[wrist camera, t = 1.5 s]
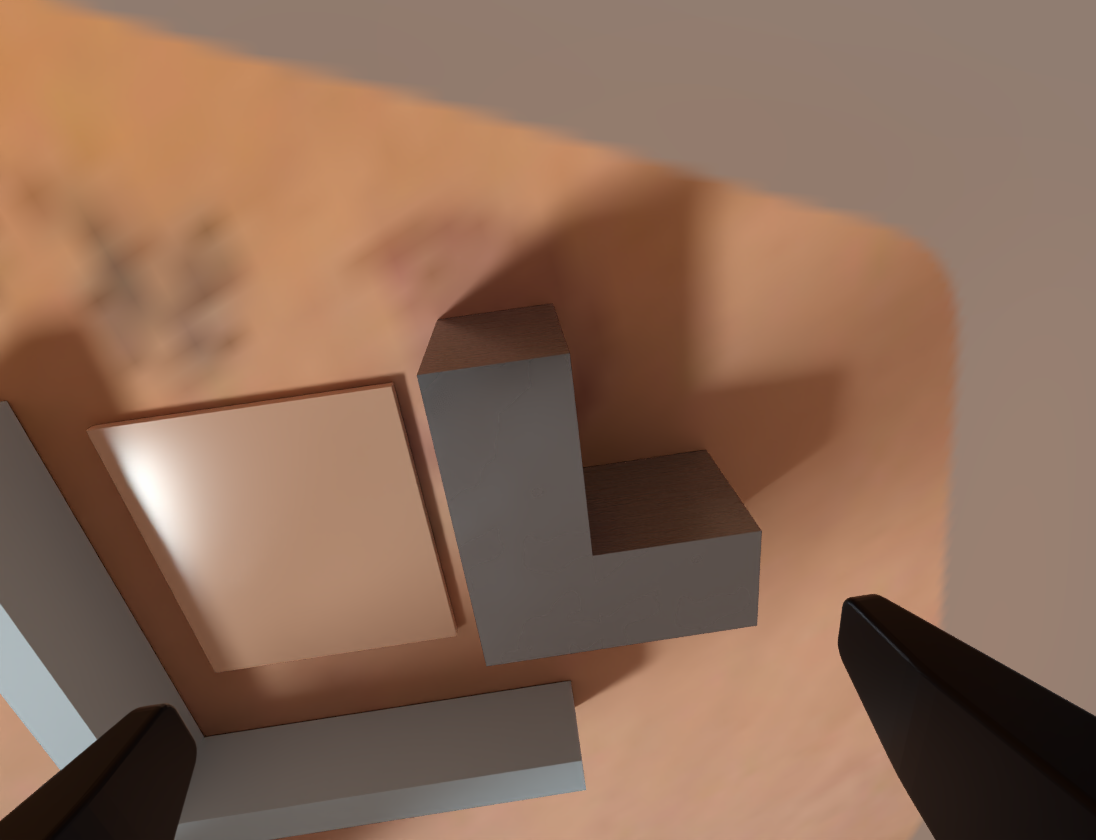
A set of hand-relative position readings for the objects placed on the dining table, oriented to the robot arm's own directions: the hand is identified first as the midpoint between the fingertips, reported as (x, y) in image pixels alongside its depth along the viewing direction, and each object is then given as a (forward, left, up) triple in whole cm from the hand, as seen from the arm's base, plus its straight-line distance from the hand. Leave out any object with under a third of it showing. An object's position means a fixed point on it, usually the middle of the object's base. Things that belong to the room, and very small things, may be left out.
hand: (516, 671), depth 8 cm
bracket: (-1, -2, -9) cm, 9 cm away
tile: (-3, +7, -9) cm, 12 cm away
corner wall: (-5, +7, -9) cm, 12 cm away
